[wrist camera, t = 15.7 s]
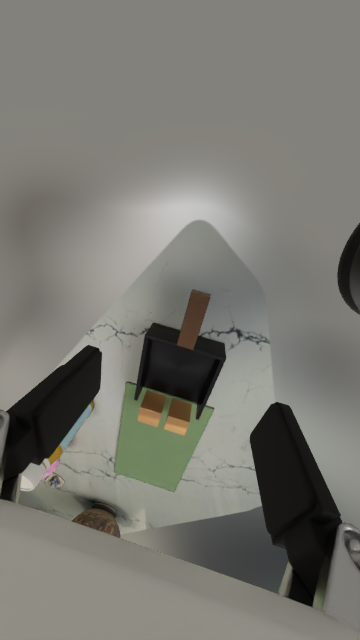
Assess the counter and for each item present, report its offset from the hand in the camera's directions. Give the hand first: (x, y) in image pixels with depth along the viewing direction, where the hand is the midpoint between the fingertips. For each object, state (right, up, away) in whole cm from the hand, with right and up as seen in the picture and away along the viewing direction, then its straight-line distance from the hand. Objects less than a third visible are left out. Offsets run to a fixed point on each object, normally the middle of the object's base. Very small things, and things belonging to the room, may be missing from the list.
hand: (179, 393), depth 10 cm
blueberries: (-42, -50, +51) cm, 83 cm away
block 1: (-5, -11, +24) cm, 27 cm away
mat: (-6, -26, +34) cm, 43 cm away
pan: (+1, -1, +21) cm, 21 cm away
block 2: (0, -13, +23) cm, 27 cm away
